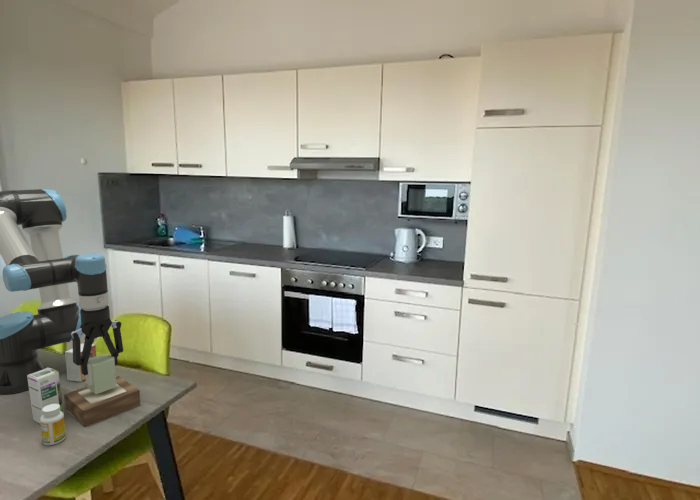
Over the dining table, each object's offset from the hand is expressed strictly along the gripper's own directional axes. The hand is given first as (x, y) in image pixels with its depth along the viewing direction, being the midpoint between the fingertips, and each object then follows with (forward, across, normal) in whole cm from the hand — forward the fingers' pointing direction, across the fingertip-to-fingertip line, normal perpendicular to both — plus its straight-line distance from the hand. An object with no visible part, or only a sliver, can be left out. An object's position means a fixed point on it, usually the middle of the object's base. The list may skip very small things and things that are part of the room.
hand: (101, 379), depth 138 cm
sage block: (+2, 0, 0) cm, 2 cm away
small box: (+9, +4, +26) cm, 28 cm away
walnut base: (+9, 0, 0) cm, 9 cm away
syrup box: (+9, -13, +5) cm, 17 cm away
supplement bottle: (+9, -16, -7) cm, 20 cm away
